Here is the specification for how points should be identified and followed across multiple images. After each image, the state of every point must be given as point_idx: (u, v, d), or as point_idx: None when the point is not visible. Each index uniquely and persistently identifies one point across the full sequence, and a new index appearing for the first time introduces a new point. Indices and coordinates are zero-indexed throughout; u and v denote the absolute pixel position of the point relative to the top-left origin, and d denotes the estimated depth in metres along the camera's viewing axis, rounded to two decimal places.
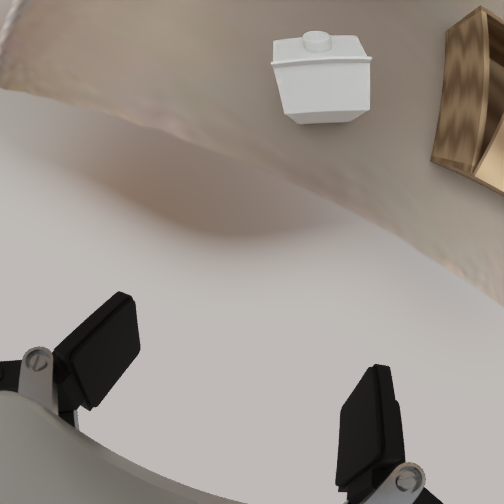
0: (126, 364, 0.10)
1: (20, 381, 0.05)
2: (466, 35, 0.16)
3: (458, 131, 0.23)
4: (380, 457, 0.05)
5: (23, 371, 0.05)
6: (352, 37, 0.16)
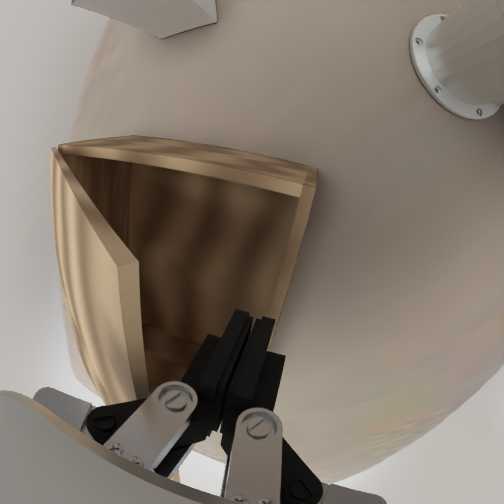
0: None
1: (140, 408, 0.06)
2: (272, 166, 0.20)
3: (125, 142, 0.22)
4: None
5: (150, 400, 0.06)
6: None
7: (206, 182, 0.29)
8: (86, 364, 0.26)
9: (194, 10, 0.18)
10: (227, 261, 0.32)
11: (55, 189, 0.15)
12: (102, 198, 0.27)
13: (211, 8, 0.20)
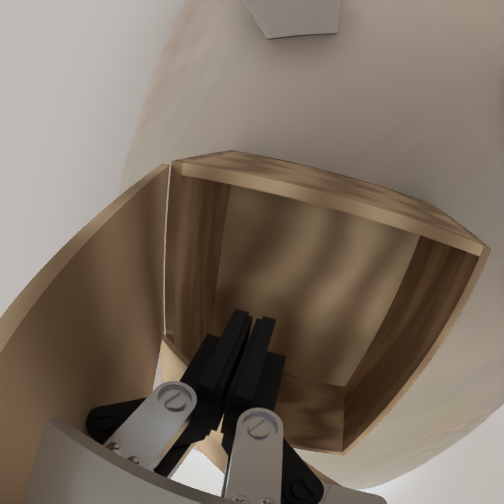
0: None
1: (139, 408, 0.06)
2: (432, 214, 0.18)
3: (258, 164, 0.20)
4: None
5: (150, 400, 0.06)
6: None
7: (328, 213, 0.26)
8: None
9: (330, 16, 0.16)
10: (339, 294, 0.30)
11: None
12: (206, 229, 0.24)
13: None
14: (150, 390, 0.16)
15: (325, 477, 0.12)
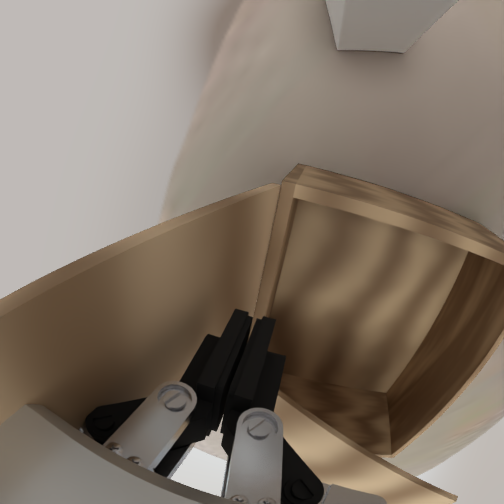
0: None
1: (139, 408, 0.06)
2: (492, 238, 0.17)
3: (350, 186, 0.19)
4: None
5: (150, 400, 0.06)
6: None
7: (392, 231, 0.25)
8: None
9: (409, 39, 0.15)
10: (394, 307, 0.29)
11: None
12: (284, 249, 0.23)
13: None
14: None
15: (415, 478, 0.11)
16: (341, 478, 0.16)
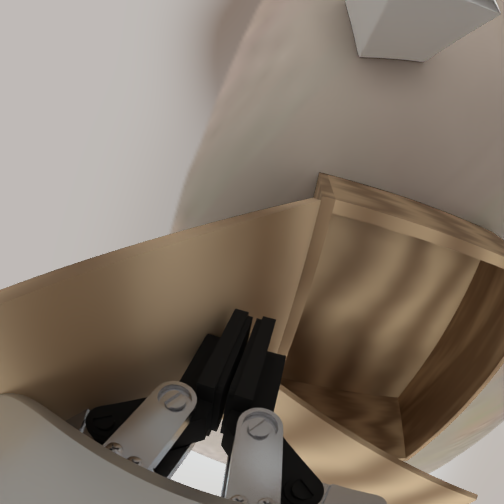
0: None
1: (139, 408, 0.06)
2: None
3: (379, 199, 0.18)
4: None
5: (150, 400, 0.06)
6: (497, 5, 0.04)
7: (411, 241, 0.25)
8: None
9: (433, 50, 0.14)
10: (409, 315, 0.28)
11: None
12: None
13: None
14: None
15: (439, 480, 0.11)
16: (366, 485, 0.15)
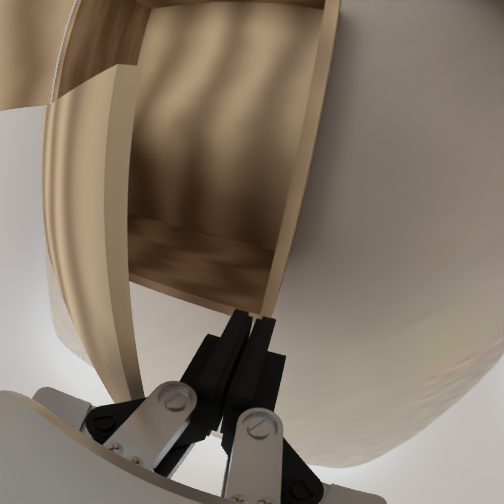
0: None
1: (139, 408, 0.06)
2: None
3: None
4: None
5: (150, 400, 0.06)
6: None
7: (226, 24, 0.21)
8: (46, 223, 0.18)
9: None
10: (247, 100, 0.24)
11: None
12: (112, 39, 0.19)
13: None
14: None
15: None
16: (54, 194, 0.11)
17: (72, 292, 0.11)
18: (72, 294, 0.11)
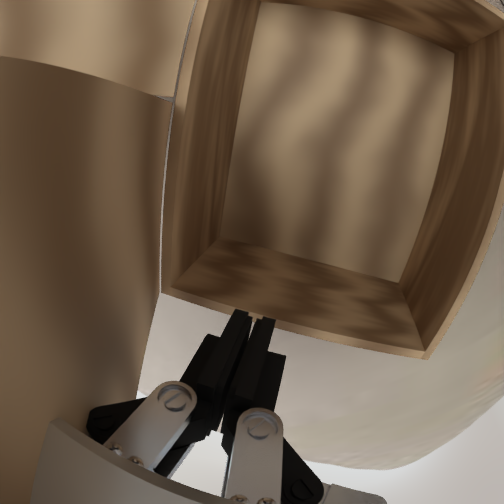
0: None
1: (139, 408, 0.06)
2: None
3: None
4: None
5: (150, 400, 0.06)
6: None
7: (359, 42, 0.19)
8: None
9: None
10: (384, 131, 0.22)
11: None
12: (235, 28, 0.17)
13: None
14: None
15: None
16: None
17: None
18: None
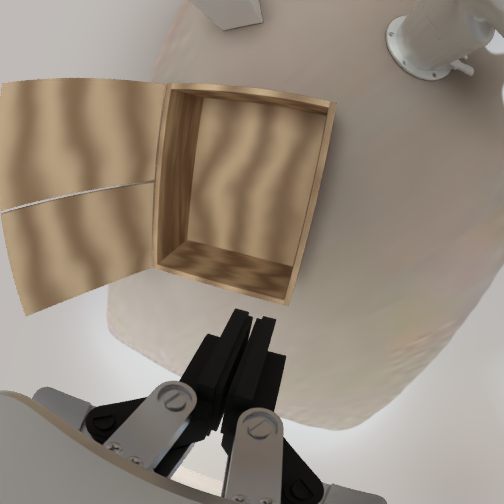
0: None
1: (139, 408, 0.06)
2: None
3: None
4: None
5: (150, 400, 0.06)
6: None
7: (259, 122, 0.41)
8: None
9: (252, 13, 0.30)
10: (273, 177, 0.44)
11: None
12: (184, 129, 0.39)
13: (260, 13, 0.32)
14: (111, 180, 0.31)
15: (37, 204, 0.23)
16: None
17: None
18: None
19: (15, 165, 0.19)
